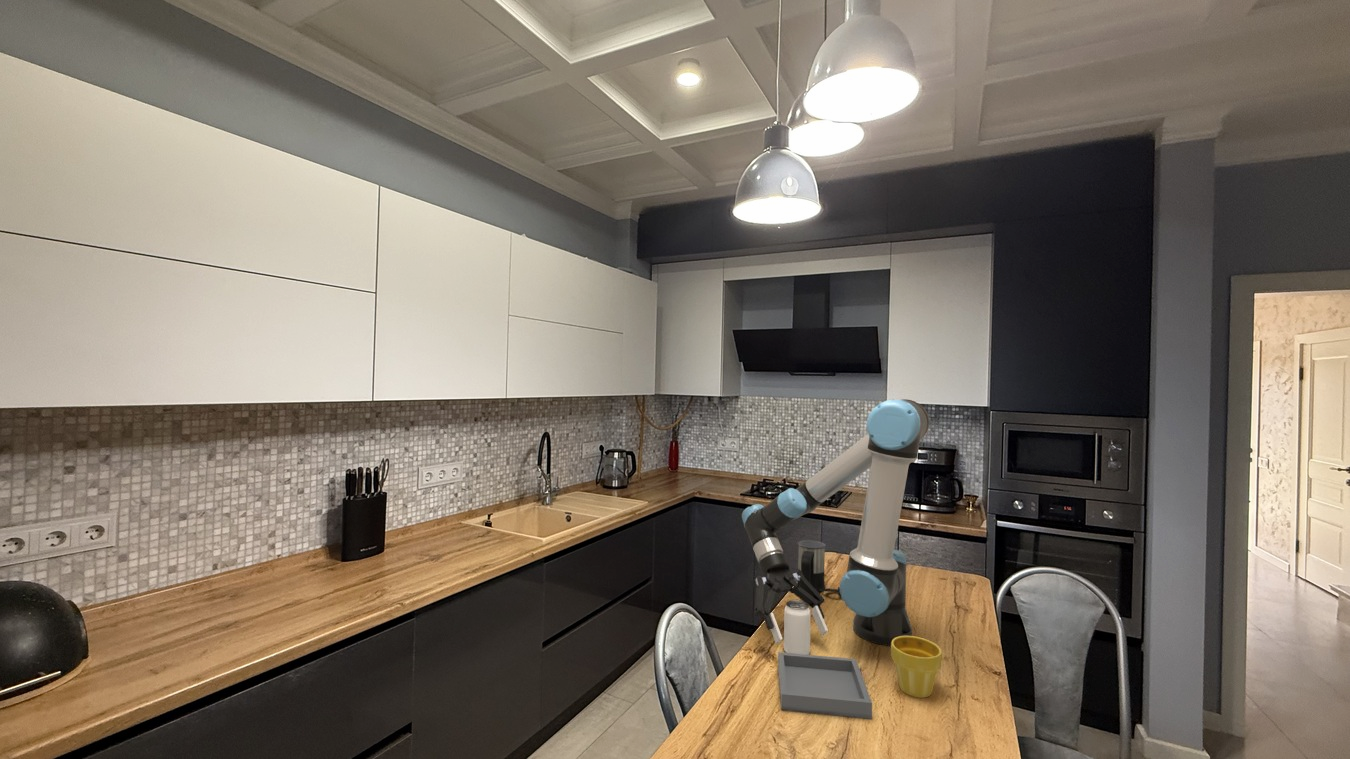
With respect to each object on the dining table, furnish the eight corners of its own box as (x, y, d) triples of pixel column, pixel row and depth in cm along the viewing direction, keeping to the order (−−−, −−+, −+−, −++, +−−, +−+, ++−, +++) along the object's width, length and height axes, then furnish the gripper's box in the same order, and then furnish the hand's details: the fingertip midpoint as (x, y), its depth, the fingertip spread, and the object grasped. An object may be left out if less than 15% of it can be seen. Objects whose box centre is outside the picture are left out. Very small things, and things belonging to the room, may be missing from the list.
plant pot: (938, 708, 114) (938, 662, 114) (886, 693, 120) (887, 648, 120) (943, 686, 123) (944, 642, 123) (895, 672, 129) (895, 631, 129)
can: (810, 659, 134) (811, 610, 134) (783, 656, 136) (784, 608, 136) (809, 647, 141) (810, 600, 141) (783, 644, 142) (784, 598, 142)
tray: (855, 672, 128) (855, 658, 128) (871, 719, 110) (872, 702, 110) (778, 665, 131) (778, 652, 131) (781, 710, 113) (781, 694, 113)
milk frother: (796, 582, 187) (796, 538, 188) (843, 585, 185) (844, 541, 185) (799, 598, 173) (799, 551, 173) (850, 601, 171) (851, 554, 171)
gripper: (803, 560, 157) (836, 635, 143) (726, 570, 148) (753, 651, 134) (814, 547, 152) (849, 623, 138) (735, 556, 143) (764, 639, 129)
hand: (802, 637), depth 136 cm, fingers open, 13 cm apart
